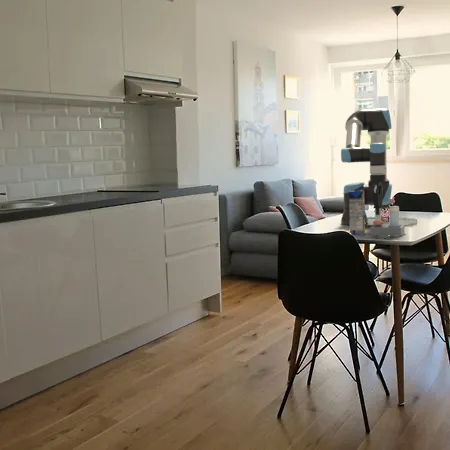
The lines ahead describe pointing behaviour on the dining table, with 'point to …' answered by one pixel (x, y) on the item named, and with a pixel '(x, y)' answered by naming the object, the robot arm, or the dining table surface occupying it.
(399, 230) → the housing
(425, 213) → the dining table surface
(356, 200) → the beverage box
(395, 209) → the cartridge
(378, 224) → the plunger
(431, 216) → the dining table surface
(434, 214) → the dining table surface
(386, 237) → the mat
